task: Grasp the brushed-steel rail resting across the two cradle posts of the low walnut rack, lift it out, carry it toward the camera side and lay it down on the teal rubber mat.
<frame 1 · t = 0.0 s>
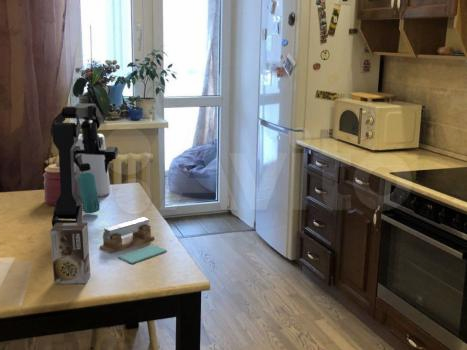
hand: (94, 172, 218), 15 cm above the table, tool pointing down, fingers open, 9 cm apart
rack: (127, 243, 188), on the table
rail: (127, 232, 187), point 4 cm above the table, touching rack
mat: (142, 254, 179), on the table
coffee box: (72, 280, 161), on the table
beverage bottle: (92, 214, 216), on the table
plastic bottle: (92, 192, 246), on the table
canister: (61, 202, 232), on the table
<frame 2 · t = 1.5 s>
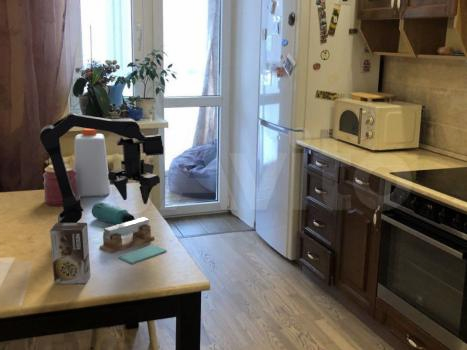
hand: (135, 201, 191), 13 cm above the table, tool pointing down, fingers open, 9 cm apart
beverage bottle: (94, 208, 213), point 3 cm above the table
everything else where it was.
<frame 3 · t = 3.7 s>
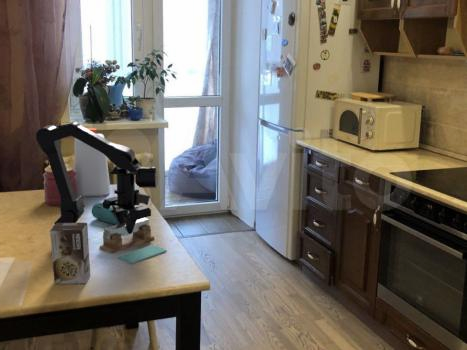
hand: (127, 232, 187), 4 cm above the table, tool pointing down, fingers closed on rail, 3 cm apart
rail: (127, 232, 187), point 4 cm above the table, touching gripper, rack
everything else where it was.
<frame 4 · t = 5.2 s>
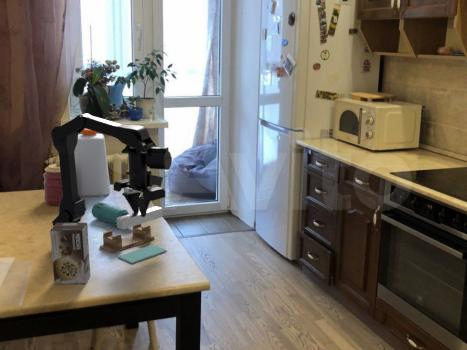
hand: (140, 215, 178), 12 cm above the table, tool pointing down, fingers closed on rail, 3 cm apart
rail: (140, 221, 178), point 10 cm above the table, touching gripper
everything else where it was.
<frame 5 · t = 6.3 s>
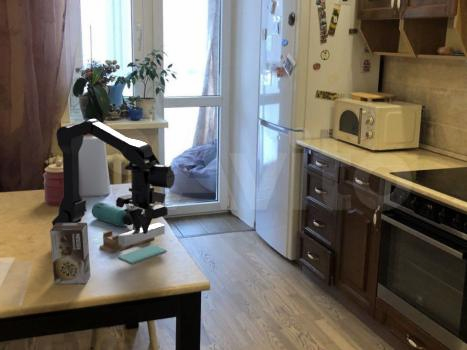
hand: (141, 232, 177), 8 cm above the table, tool pointing down, fingers closed on rail, 3 cm apart
rail: (142, 238, 178), point 5 cm above the table, touching gripper
everything else where it was.
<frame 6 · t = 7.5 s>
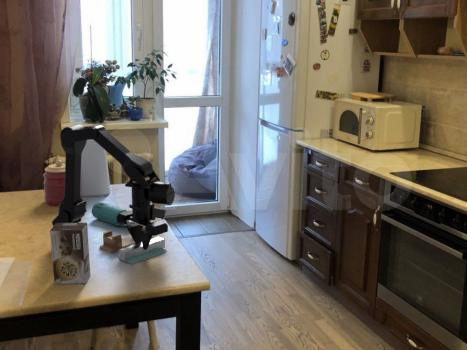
hand: (142, 248, 178), 2 cm above the table, tool pointing down, fingers closed on rail, 3 cm apart
rail: (142, 253, 179), resting on mat, touching gripper
everything else where it was.
when the fingers open (2 cm above the table, at t = 7.5 s): rail stays where it is, resting on mat.
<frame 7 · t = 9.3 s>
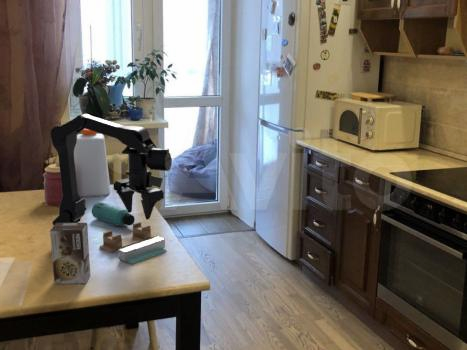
hand: (138, 215, 179), 12 cm above the table, tool pointing down, fingers open, 9 cm apart
rail: (142, 253, 179), resting on mat
everything else where it was.
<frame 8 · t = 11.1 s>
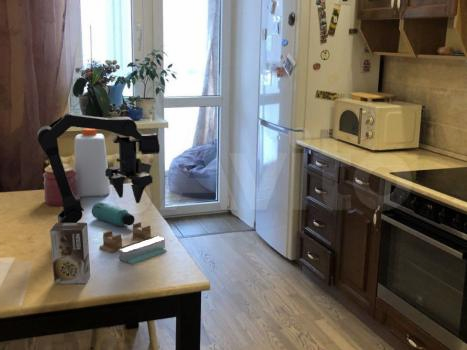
hand: (129, 200, 191), 13 cm above the table, tool pointing down, fingers open, 9 cm apart
nothing on the table moved.
at the end: rail inside the target area on the mat (0.1 cm from its centre), point 0.5 cm above the mat's base; rail touching mat; the gripper is holding nothing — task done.
